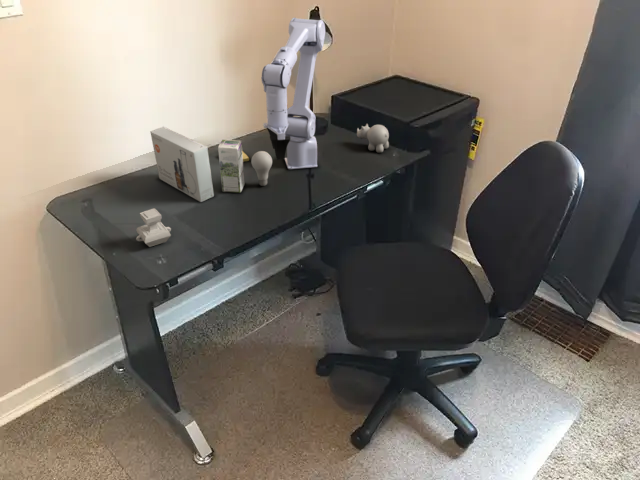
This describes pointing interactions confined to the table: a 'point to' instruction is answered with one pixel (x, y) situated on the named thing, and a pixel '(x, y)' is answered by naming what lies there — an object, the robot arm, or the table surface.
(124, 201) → the table surface
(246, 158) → the sticky note pad
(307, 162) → the robot arm
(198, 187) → the skincare box
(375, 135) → the toy rhinoceros
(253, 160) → the lightbulb
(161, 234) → the stamp
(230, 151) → the syrup box
